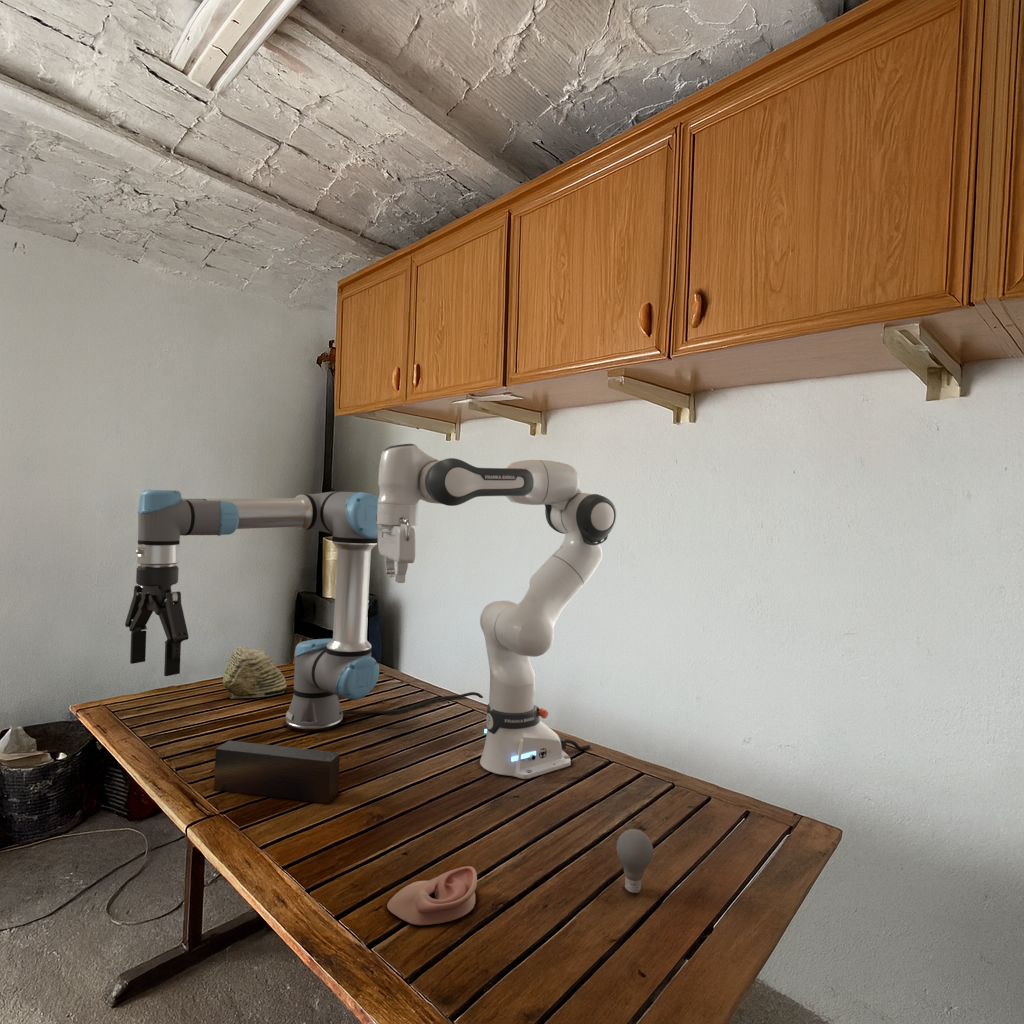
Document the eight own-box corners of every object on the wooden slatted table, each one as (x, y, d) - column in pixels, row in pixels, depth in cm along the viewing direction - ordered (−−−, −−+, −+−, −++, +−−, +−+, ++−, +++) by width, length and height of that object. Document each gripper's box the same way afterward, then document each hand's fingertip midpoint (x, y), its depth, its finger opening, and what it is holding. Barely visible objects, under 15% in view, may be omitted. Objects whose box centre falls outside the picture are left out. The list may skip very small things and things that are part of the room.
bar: (214, 790, 135) (215, 748, 135) (227, 780, 139) (228, 740, 139) (328, 804, 131) (330, 761, 131) (338, 793, 136) (339, 752, 135)
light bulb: (610, 879, 108) (613, 822, 108) (644, 879, 109) (647, 822, 109) (619, 902, 102) (622, 840, 102) (655, 901, 103) (658, 840, 103)
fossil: (218, 695, 195) (220, 647, 195) (278, 685, 208) (279, 640, 207) (228, 703, 189) (230, 653, 188) (289, 692, 201) (290, 645, 201)
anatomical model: (379, 892, 96) (407, 852, 107) (378, 918, 96) (406, 875, 107) (464, 907, 93) (483, 864, 104) (463, 934, 93) (482, 888, 104)
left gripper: (109, 560, 133) (105, 660, 133) (172, 572, 119) (168, 684, 120) (145, 558, 139) (142, 654, 140) (209, 569, 125) (206, 676, 126)
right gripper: (424, 519, 131) (421, 586, 132) (400, 515, 150) (398, 573, 150) (394, 518, 129) (391, 586, 129) (374, 514, 147) (371, 574, 148)
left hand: (154, 668), depth 130 cm, fingers open, 13 cm apart
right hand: (395, 579), depth 140 cm, fingers open, 8 cm apart
